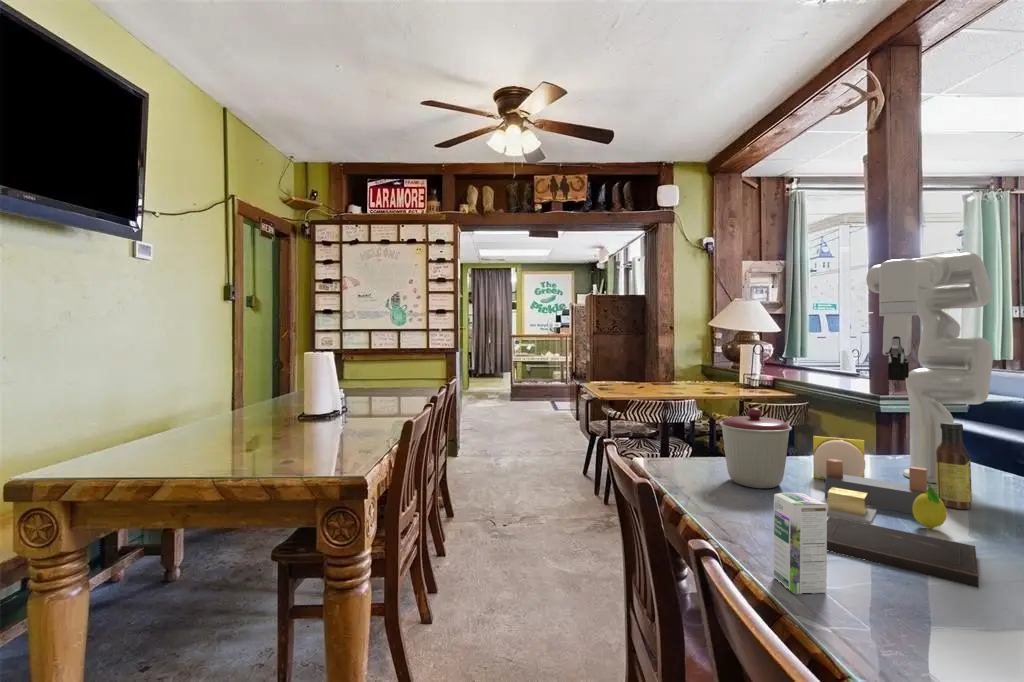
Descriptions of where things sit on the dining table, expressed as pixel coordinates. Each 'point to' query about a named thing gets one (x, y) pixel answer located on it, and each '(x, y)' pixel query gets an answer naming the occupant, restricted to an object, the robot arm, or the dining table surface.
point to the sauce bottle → (953, 468)
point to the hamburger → (838, 455)
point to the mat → (853, 515)
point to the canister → (755, 449)
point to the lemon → (929, 509)
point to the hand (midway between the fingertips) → (898, 378)
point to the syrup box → (800, 543)
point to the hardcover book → (904, 550)
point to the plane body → (879, 487)
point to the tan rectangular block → (848, 501)
